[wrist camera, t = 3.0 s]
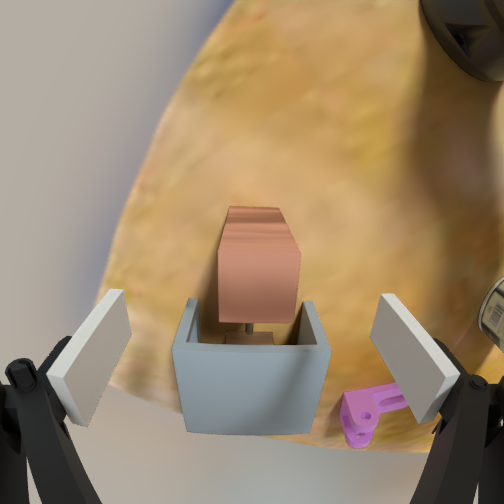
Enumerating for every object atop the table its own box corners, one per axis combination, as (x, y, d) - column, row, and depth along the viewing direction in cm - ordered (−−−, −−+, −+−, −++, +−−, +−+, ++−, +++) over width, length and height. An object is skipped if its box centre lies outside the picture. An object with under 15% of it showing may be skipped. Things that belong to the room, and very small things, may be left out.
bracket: (338, 415, 38) (348, 450, 32) (343, 391, 36) (356, 429, 30) (412, 398, 38) (428, 429, 32) (422, 374, 36) (441, 405, 30)
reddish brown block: (227, 206, 27) (213, 251, 16) (281, 207, 27) (305, 254, 16) (227, 364, 34) (221, 446, 23) (269, 365, 34) (277, 447, 23)
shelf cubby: (188, 298, 31) (171, 348, 23) (312, 301, 31) (331, 351, 23) (196, 379, 35) (186, 431, 27) (299, 381, 35) (309, 433, 27)
